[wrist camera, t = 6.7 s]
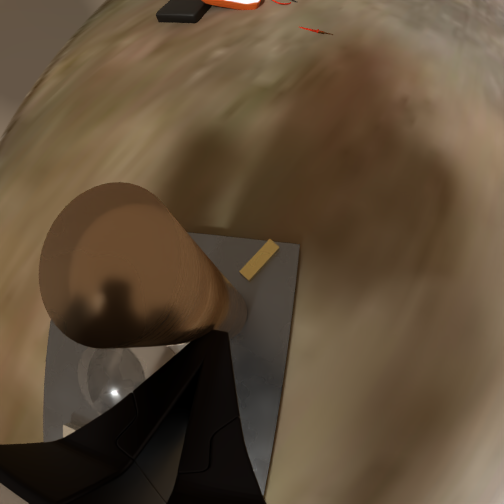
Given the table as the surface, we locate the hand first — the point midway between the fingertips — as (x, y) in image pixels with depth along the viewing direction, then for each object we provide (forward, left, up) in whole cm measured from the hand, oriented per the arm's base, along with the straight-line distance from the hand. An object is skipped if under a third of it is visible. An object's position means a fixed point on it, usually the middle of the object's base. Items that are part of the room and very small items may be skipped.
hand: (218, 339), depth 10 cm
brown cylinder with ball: (+2, +4, -7) cm, 8 cm away
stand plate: (+2, +6, -8) cm, 10 cm away
